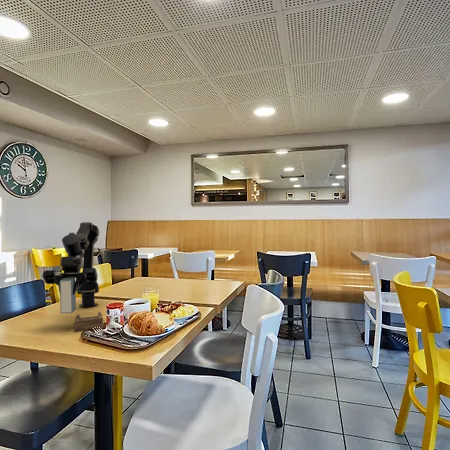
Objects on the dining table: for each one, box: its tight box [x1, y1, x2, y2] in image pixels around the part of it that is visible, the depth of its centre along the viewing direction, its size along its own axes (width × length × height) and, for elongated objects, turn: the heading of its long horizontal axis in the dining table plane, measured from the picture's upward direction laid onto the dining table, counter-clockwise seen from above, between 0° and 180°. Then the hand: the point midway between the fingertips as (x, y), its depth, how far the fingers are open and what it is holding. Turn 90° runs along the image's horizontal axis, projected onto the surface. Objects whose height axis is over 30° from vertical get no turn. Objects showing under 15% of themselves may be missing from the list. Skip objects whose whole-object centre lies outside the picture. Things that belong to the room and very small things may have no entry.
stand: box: [73, 311, 105, 333], centre depth 119 cm, size 12×10×4 cm
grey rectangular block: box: [59, 278, 77, 314], centre depth 116 cm, size 5×4×12 cm
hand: (67, 294), depth 115 cm, fingers closed on grey rectangular block, 4 cm apart
